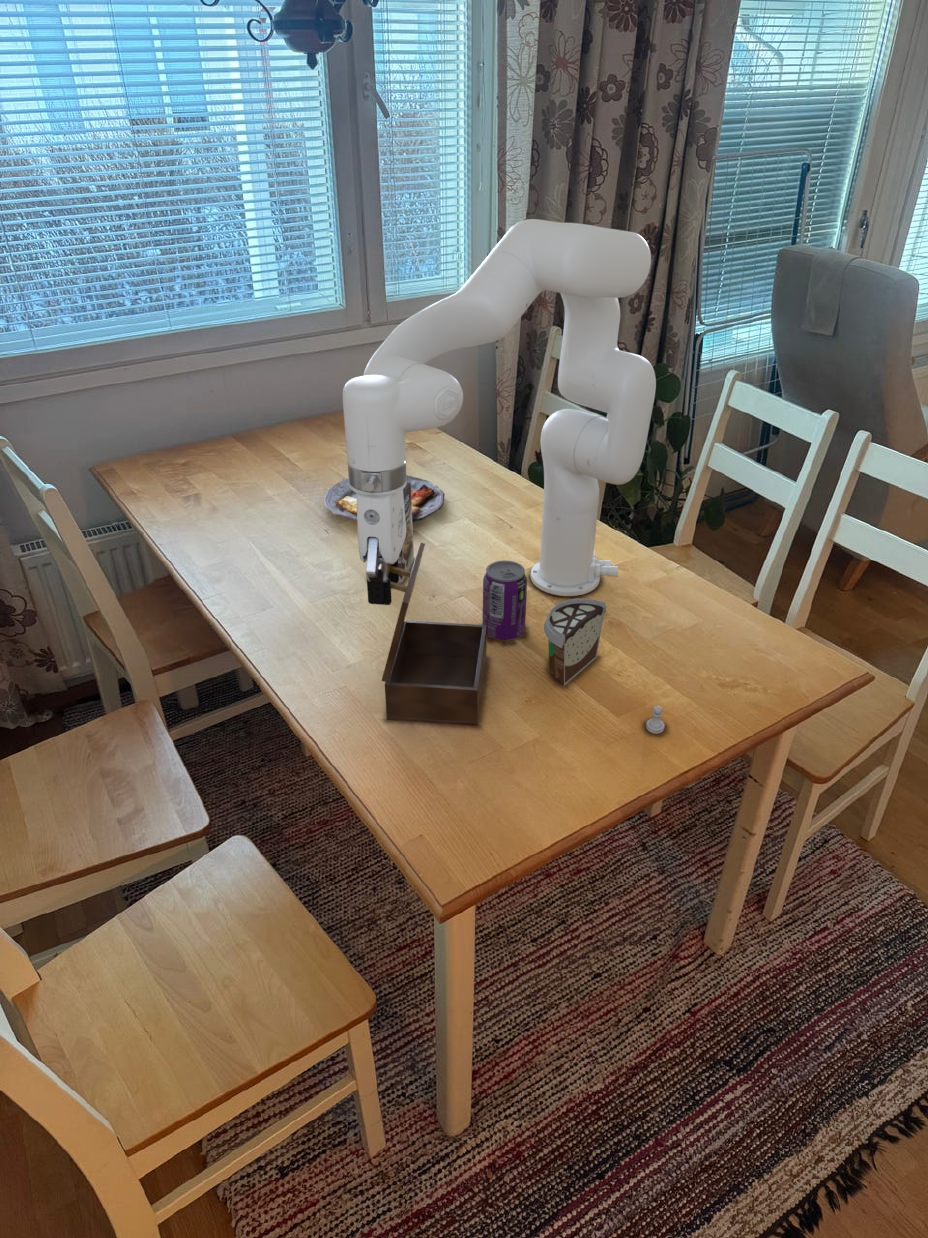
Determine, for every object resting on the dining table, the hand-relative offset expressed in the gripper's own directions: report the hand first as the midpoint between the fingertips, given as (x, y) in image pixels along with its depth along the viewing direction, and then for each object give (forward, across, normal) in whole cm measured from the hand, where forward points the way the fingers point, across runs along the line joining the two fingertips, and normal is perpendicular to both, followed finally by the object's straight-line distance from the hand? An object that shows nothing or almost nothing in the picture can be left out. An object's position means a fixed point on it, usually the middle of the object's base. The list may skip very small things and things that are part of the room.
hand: (383, 591), depth 121 cm
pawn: (+17, -6, -40) cm, 44 cm away
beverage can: (+17, +16, -16) cm, 29 cm away
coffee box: (+17, +34, +6) cm, 39 cm away
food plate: (+17, +60, +12) cm, 63 cm away
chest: (+17, 0, -8) cm, 19 cm away
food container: (+17, +8, -27) cm, 33 cm away
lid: (+3, 0, -3) cm, 5 cm away
